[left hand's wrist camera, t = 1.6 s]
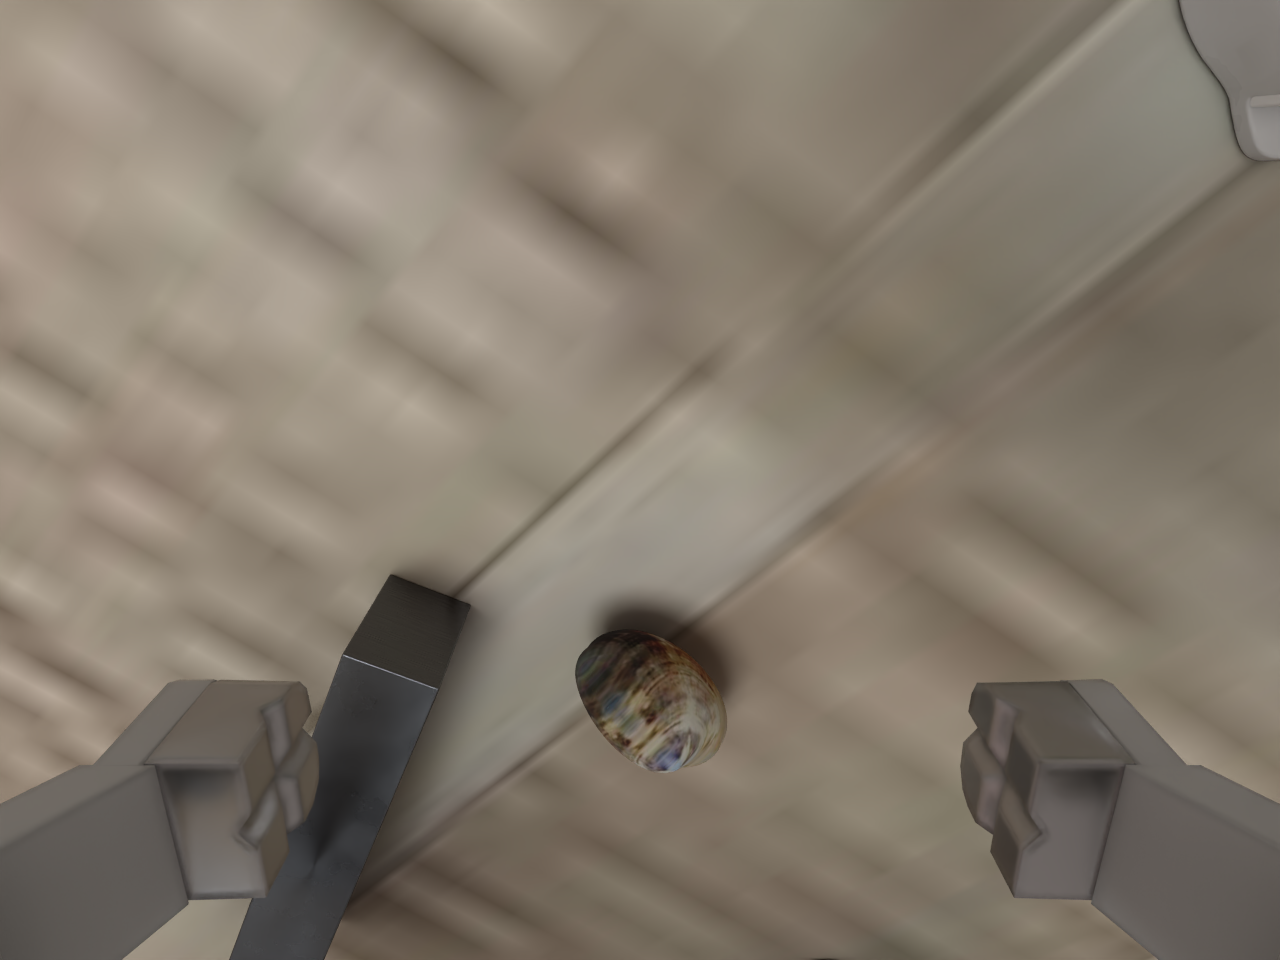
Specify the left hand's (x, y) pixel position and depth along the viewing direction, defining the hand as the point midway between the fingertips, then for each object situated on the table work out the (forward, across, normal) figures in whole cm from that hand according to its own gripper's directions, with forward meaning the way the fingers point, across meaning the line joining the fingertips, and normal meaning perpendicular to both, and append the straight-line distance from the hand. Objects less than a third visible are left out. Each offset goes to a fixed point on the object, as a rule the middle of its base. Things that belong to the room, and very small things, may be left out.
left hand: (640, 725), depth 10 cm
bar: (+33, -17, -27) cm, 46 cm away
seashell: (+33, +1, -20) cm, 39 cm away
